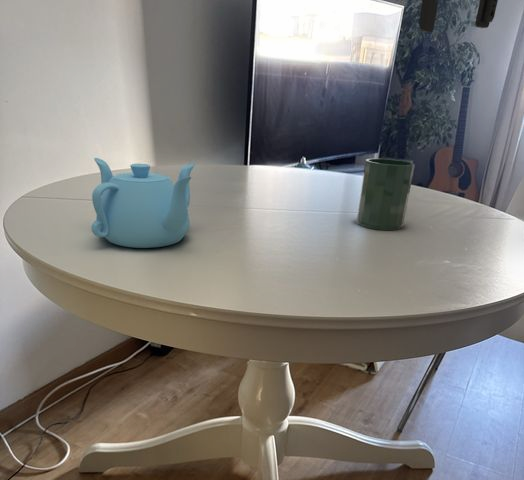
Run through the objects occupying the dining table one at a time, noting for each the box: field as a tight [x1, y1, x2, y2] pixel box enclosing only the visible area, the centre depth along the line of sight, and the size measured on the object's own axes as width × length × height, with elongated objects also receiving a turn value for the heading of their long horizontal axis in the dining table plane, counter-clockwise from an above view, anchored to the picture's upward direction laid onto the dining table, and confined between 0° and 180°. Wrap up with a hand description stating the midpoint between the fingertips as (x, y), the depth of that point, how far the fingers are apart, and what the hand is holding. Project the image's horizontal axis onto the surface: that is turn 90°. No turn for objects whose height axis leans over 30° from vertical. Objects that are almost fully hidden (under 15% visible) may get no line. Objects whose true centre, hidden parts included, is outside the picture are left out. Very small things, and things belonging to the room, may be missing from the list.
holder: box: [356, 158, 416, 231], centre depth 83 cm, size 8×8×10 cm
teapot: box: [91, 157, 196, 249], centre depth 68 cm, size 15×15×10 cm
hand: (452, 29), depth 65 cm, fingers open, 8 cm apart
